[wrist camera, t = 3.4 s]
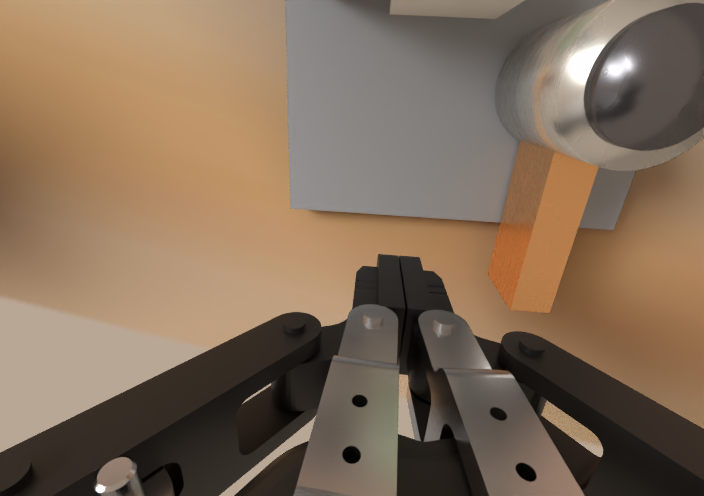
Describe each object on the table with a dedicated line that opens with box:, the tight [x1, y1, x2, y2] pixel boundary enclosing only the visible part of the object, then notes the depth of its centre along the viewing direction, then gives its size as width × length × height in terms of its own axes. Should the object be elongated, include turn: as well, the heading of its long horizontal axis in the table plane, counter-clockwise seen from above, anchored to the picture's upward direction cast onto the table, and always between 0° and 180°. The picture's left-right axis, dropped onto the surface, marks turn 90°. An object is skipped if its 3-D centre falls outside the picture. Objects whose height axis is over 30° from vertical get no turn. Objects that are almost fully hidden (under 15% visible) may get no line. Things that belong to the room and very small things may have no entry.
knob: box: [488, 0, 704, 313], centre depth 14 cm, size 12×5×7 cm, turn 177°
